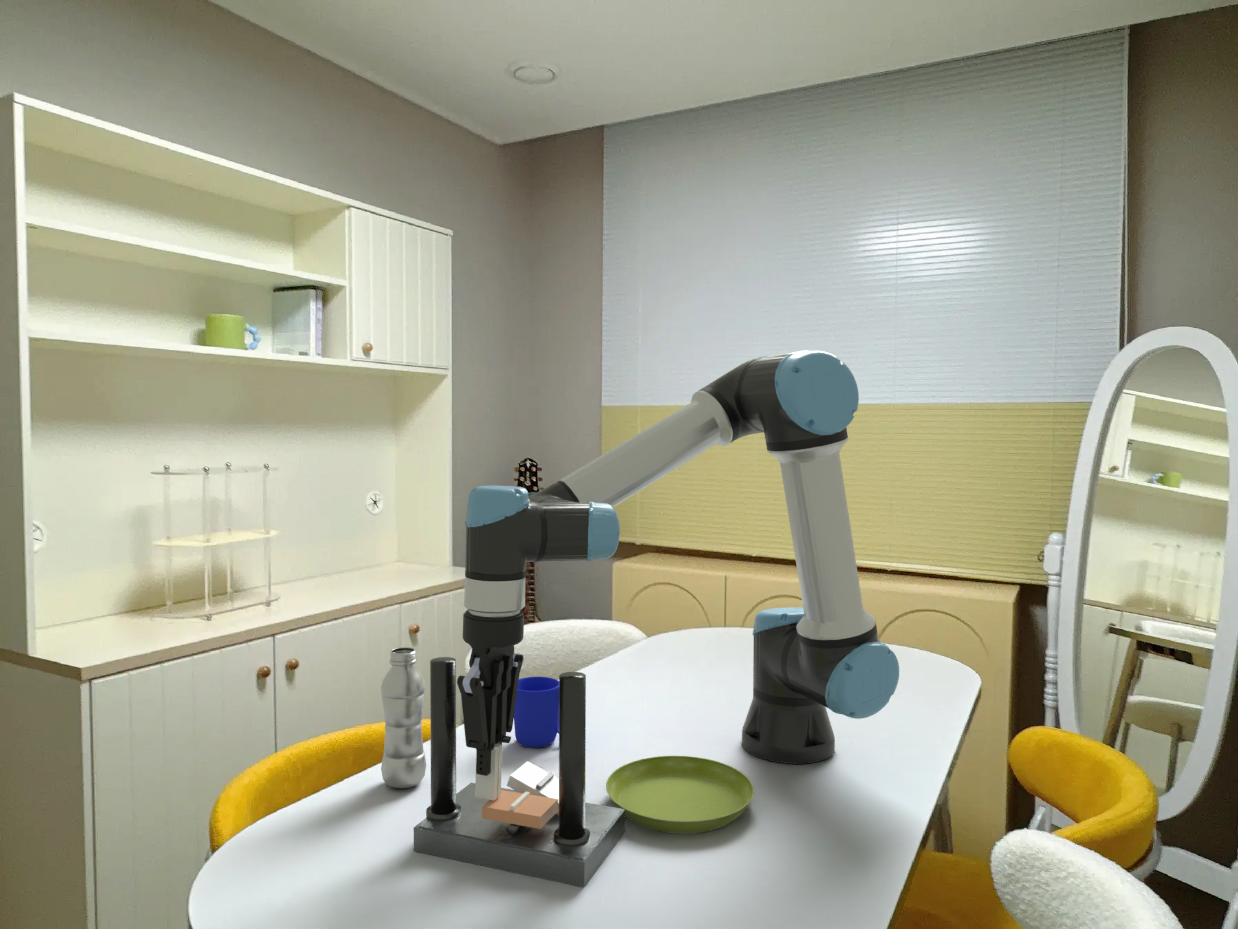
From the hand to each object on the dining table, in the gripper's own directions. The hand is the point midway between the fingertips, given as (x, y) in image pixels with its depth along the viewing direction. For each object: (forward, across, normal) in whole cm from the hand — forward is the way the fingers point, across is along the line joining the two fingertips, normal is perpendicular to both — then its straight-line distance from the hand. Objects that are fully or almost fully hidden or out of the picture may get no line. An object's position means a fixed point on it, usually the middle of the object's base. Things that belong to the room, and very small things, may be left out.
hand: (487, 795), depth 104 cm
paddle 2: (+1, 0, +4) cm, 5 cm away
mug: (+7, -34, -8) cm, 35 cm away
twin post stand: (+6, -3, +4) cm, 8 cm away
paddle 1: (+1, -7, +4) cm, 8 cm away
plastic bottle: (+7, -12, -20) cm, 25 cm away
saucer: (+6, -20, +20) cm, 29 cm away
